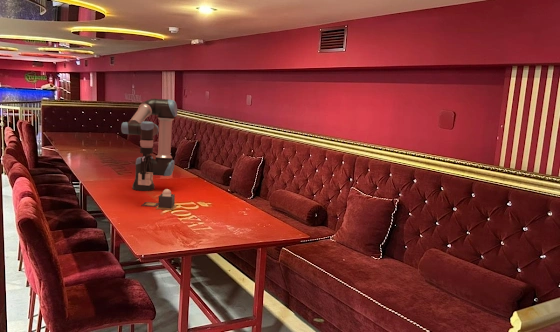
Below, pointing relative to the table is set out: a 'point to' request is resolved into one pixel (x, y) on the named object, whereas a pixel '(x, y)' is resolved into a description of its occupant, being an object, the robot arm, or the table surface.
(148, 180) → the die
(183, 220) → the table surface
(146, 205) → the pad
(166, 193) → the dome plunger
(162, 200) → the button box
